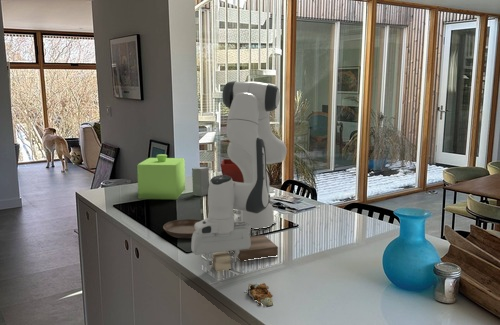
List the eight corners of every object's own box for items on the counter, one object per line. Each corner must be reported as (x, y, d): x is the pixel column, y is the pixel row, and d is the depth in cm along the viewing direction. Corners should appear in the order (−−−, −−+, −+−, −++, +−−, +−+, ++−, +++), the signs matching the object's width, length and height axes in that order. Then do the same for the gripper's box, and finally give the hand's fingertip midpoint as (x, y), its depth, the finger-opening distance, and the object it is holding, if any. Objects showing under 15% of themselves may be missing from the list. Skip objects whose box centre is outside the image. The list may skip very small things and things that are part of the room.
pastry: (260, 309, 126) (260, 297, 126) (242, 292, 137) (242, 281, 136) (281, 304, 129) (282, 292, 129) (262, 288, 140) (262, 277, 139)
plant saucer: (204, 223, 206) (204, 216, 205) (218, 237, 187) (218, 229, 186) (159, 228, 198) (159, 221, 198) (168, 243, 179) (168, 235, 179)
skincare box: (201, 196, 256) (201, 169, 253) (191, 195, 259) (191, 168, 257) (210, 193, 263) (210, 167, 260) (200, 192, 266) (199, 165, 264)
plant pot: (220, 191, 268) (220, 163, 266) (223, 185, 287) (223, 158, 284) (252, 192, 268) (252, 164, 265) (253, 185, 287) (253, 159, 284)
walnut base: (229, 248, 173) (229, 238, 172) (263, 244, 177) (264, 234, 177) (241, 261, 160) (241, 251, 159) (277, 257, 164) (277, 246, 164)
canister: (150, 189, 275) (149, 151, 271) (185, 189, 274) (184, 151, 270) (138, 199, 250) (136, 157, 247) (176, 199, 249) (175, 158, 246)
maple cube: (212, 266, 156) (212, 252, 155) (226, 264, 158) (226, 250, 157) (216, 271, 151) (216, 257, 151) (230, 270, 153) (230, 255, 152)
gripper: (247, 218, 158) (247, 256, 161) (189, 224, 152) (190, 263, 154) (253, 223, 152) (253, 263, 155) (193, 229, 146) (194, 270, 148)
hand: (221, 263), depth 154 cm, fingers open, 7 cm apart
